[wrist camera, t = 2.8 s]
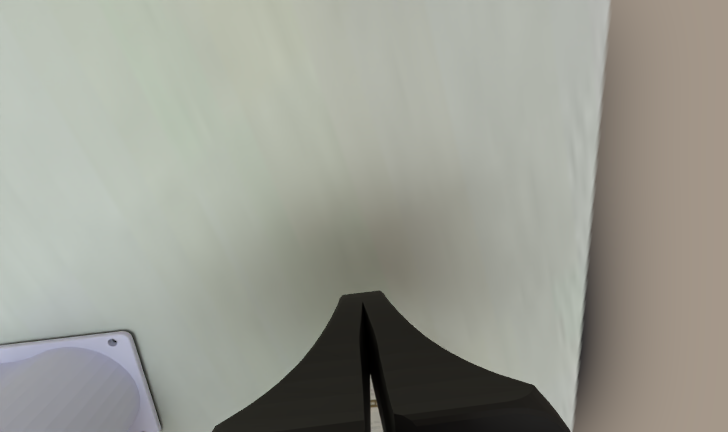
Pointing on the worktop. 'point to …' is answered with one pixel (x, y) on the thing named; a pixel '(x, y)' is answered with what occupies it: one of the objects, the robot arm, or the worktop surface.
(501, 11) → the worktop surface
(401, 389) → the robot arm
